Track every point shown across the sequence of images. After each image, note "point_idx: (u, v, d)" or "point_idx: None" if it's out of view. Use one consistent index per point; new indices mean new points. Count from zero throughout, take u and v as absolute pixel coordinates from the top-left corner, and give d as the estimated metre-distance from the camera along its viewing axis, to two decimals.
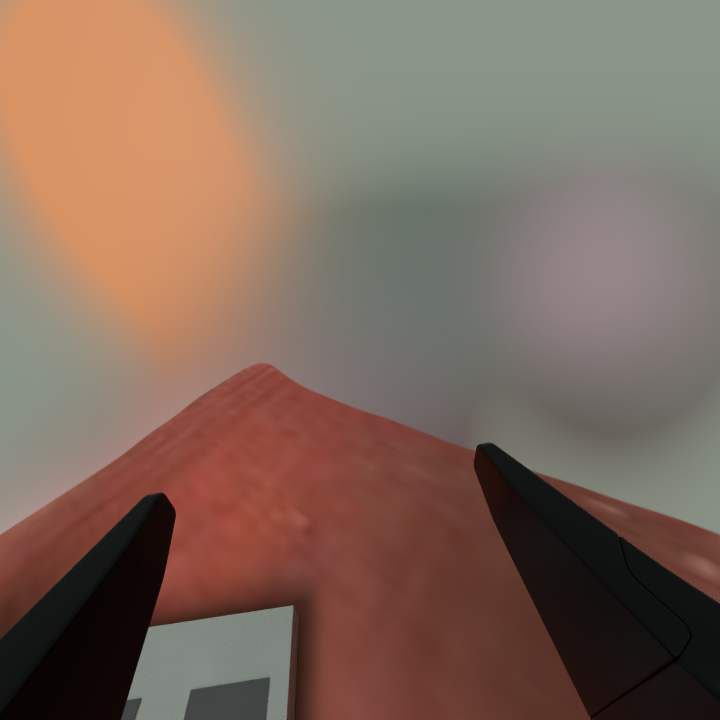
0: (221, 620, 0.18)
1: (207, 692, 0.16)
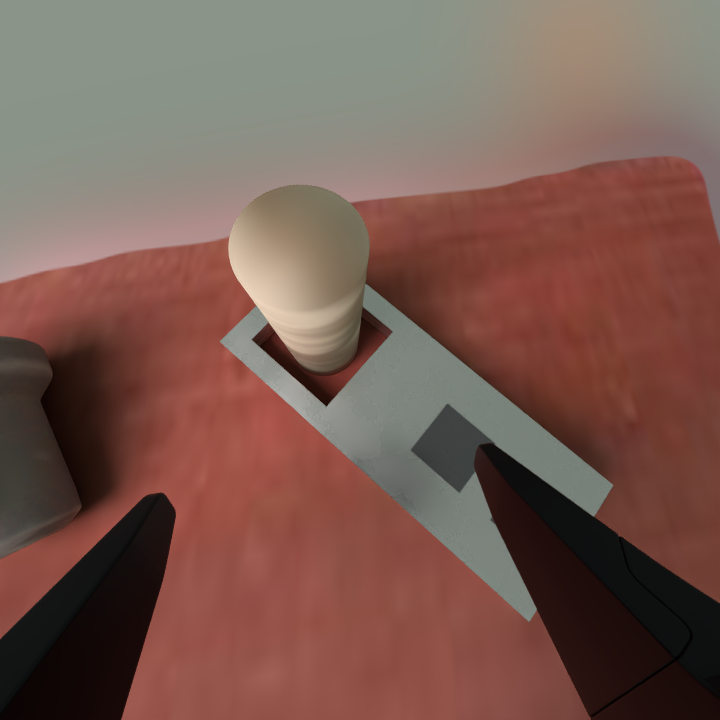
0: (558, 444, 0.21)
1: None
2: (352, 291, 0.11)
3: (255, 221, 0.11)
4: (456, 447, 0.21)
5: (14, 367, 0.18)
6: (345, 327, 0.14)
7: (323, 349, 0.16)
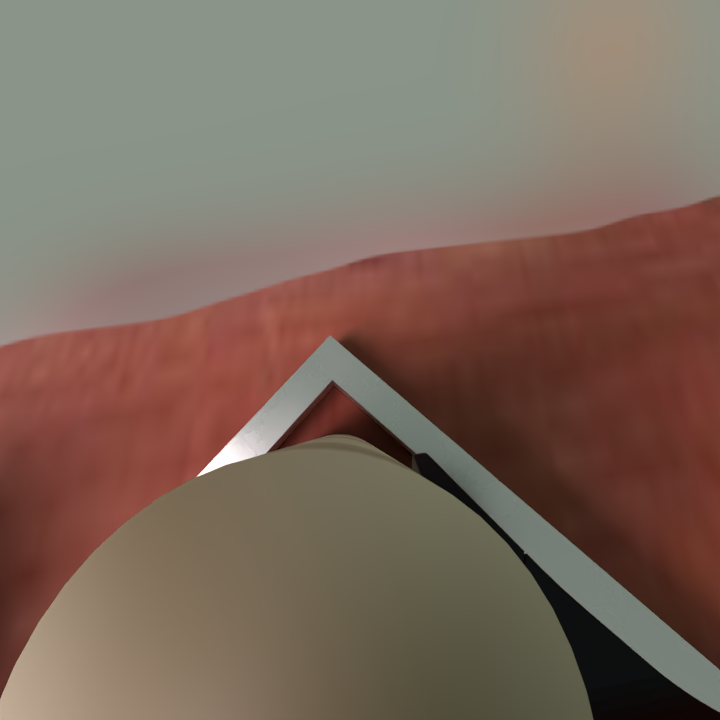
0: None
1: None
2: None
3: (109, 650, 0.03)
4: None
5: None
6: None
7: None
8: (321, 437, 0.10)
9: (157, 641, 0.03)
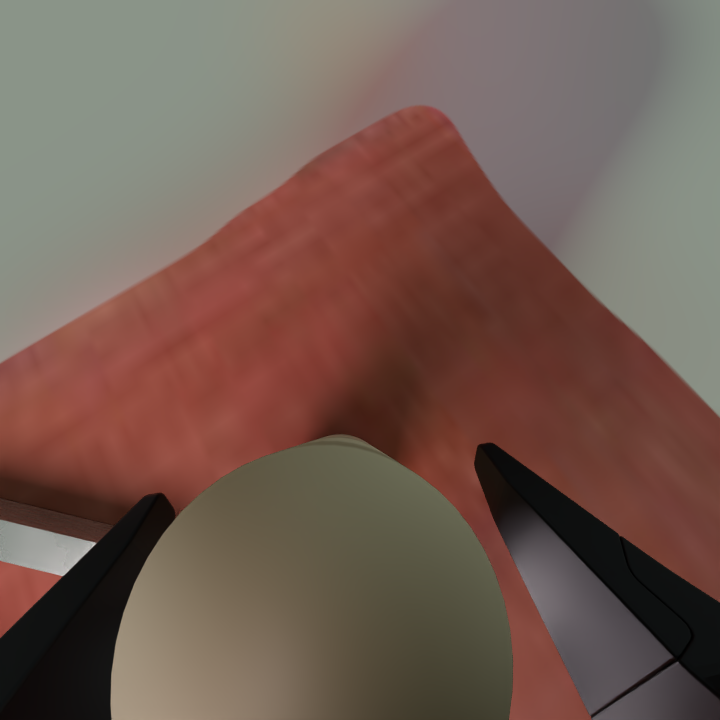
0: None
1: None
2: None
3: (194, 574, 0.04)
4: None
5: None
6: None
7: None
8: None
9: (224, 569, 0.04)
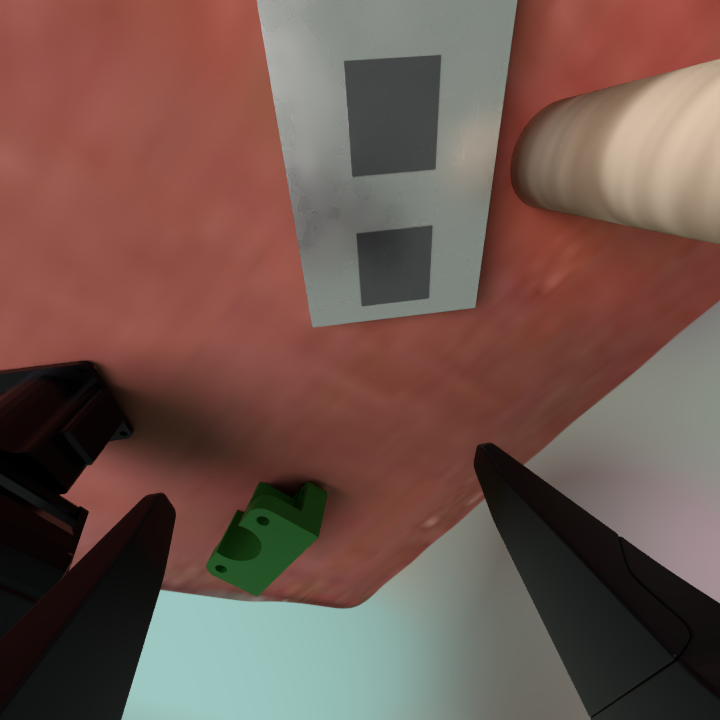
0: (481, 236, 0.17)
1: (428, 243, 0.17)
2: None
3: None
4: (396, 125, 0.14)
5: None
6: (680, 229, 0.10)
7: (621, 192, 0.11)
8: None
9: None
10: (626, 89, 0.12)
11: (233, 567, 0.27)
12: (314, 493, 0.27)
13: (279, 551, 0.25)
